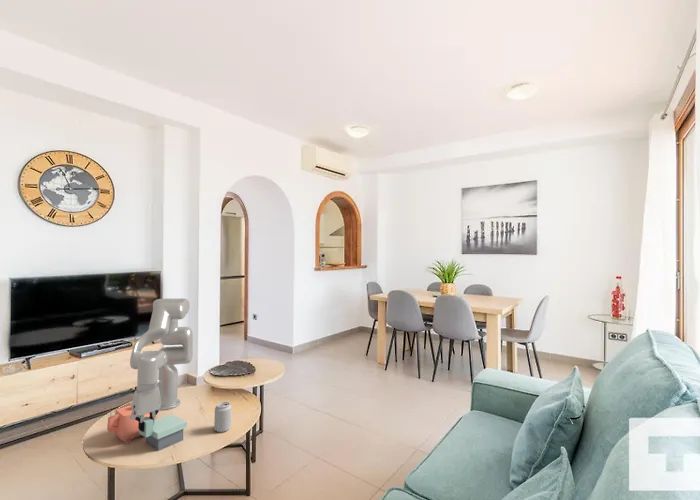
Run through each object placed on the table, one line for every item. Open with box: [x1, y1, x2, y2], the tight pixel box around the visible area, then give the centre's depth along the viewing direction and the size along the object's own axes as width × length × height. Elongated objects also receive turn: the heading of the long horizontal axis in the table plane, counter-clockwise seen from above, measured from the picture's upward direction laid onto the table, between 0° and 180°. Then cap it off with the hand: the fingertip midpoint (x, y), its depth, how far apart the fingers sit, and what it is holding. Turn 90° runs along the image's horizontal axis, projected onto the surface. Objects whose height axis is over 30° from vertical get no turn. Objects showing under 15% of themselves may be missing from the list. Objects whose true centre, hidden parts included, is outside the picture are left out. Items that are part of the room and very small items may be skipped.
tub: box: [145, 429, 184, 452], centre depth 158 cm, size 11×11×7 cm
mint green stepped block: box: [139, 413, 188, 439], centre depth 157 cm, size 13×16×7 cm
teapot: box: [106, 403, 156, 443], centre depth 163 cm, size 22×13×14 cm, turn 141°
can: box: [213, 401, 232, 433], centre depth 170 cm, size 8×8×12 cm
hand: (146, 428), depth 151 cm, fingers closed on mint green stepped block, 3 cm apart
